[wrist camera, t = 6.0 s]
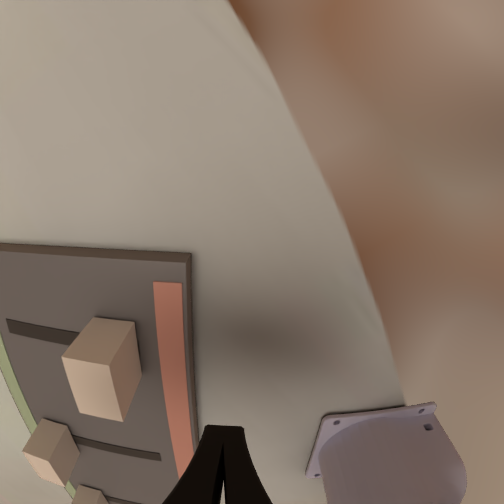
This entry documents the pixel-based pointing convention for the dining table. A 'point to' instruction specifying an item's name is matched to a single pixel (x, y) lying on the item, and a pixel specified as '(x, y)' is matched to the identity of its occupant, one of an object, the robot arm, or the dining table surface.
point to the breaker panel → (149, 347)
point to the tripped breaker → (104, 368)
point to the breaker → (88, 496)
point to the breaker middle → (52, 452)
